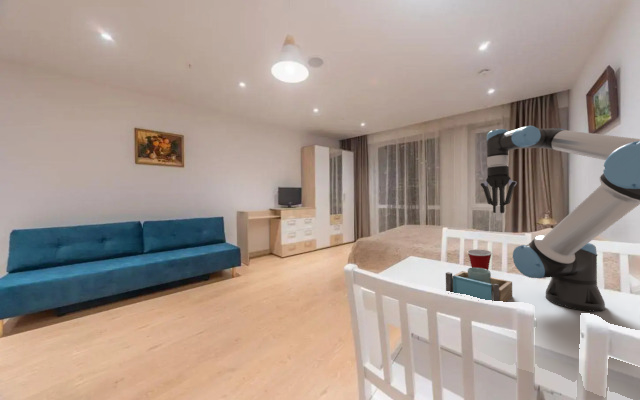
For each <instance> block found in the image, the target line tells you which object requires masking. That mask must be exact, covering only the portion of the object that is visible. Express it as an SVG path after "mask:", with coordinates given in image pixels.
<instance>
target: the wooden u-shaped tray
mask: <svg viewBox="0 0 640 400" xmlns="http://www.w3.org/2000/svg"><path fill="white" fill-rule="evenodd" d="M454 275H455V276H460V277H464V278H468V271H464V270H462V271H459V272H458V273H456V274H454ZM454 275H453V272H449V271H447V272H445V292H446V291H450V292H453V276H454ZM491 284H492V301H493V300H494V301H503V302H506V303H507V302H509V300H511V298H512V297H513V281H510V280H506V279H501V278H497V277H492V276H491Z"/></svg>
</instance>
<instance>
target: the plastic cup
mask: <svg viewBox="0 0 640 400" xmlns="http://www.w3.org/2000/svg"><path fill="white" fill-rule="evenodd" d="M466 253H467V254H468V257H469V261H470V268H483V269H487V270H489V268H490V260H491V257H492V254H493V252H492V250H491V251H490V250H488V249H480V248H479V249H468V250H467V251H466Z"/></svg>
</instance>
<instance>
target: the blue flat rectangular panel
mask: <svg viewBox="0 0 640 400" xmlns="http://www.w3.org/2000/svg"><path fill="white" fill-rule="evenodd" d="M455 275H456V274H454V275H452V276H453V292H454V293H460V294H466V295H470V296H473V297H477V298H480V299H485V300H492V301H493V293H492V284H489V283H485V282H481V281H477V280H472V279H468V278H464V277H460V276H455ZM454 293H453V294H454Z"/></svg>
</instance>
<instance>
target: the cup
mask: <svg viewBox="0 0 640 400" xmlns="http://www.w3.org/2000/svg"><path fill="white" fill-rule="evenodd" d="M467 272H468V279H472V280H477V281H481V282H485V283H489V284H491V277H492V276H491V274H492V273H491V271H490V270H489V269H488V270H487V269H483V268H472V267H468V268H467Z"/></svg>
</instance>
